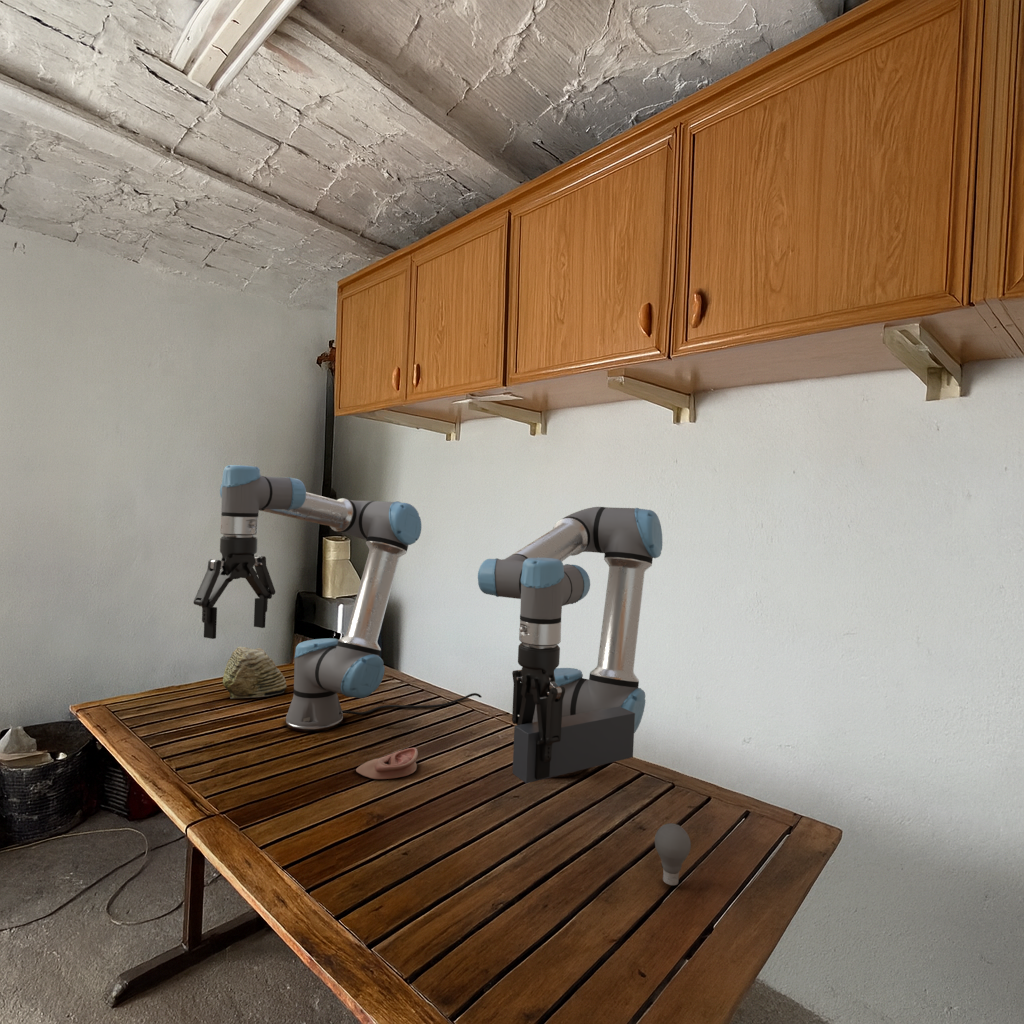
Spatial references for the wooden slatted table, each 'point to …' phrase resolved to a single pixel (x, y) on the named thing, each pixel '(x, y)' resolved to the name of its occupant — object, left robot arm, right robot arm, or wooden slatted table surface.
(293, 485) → the left robot arm
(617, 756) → the bar
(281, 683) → the fossil
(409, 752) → the anatomical model
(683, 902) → the wooden slatted table surface
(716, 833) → the wooden slatted table surface
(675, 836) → the light bulb
